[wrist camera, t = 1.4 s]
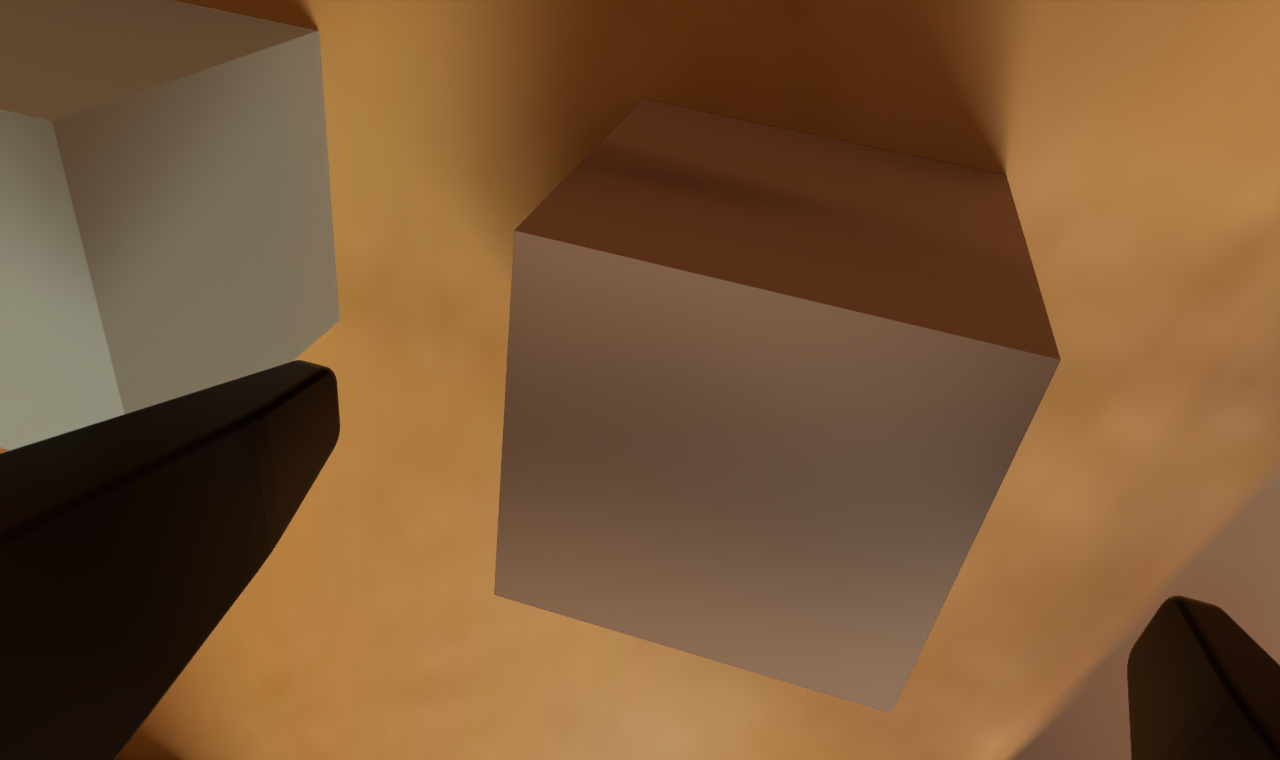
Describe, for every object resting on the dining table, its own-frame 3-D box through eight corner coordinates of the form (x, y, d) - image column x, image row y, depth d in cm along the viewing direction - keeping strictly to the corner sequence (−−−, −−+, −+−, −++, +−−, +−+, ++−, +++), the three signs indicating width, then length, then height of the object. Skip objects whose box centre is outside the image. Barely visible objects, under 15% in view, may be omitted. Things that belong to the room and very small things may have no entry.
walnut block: (895, 461, 14) (891, 713, 10) (605, 386, 15) (494, 594, 11) (1006, 173, 12) (1061, 359, 7) (644, 97, 12) (514, 230, 8)
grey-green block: (341, 318, 16) (143, 490, 12) (99, 256, 16) (-169, 397, 12) (321, 29, 13) (51, 121, 9) (30, -33, 14) (-345, 27, 10)
